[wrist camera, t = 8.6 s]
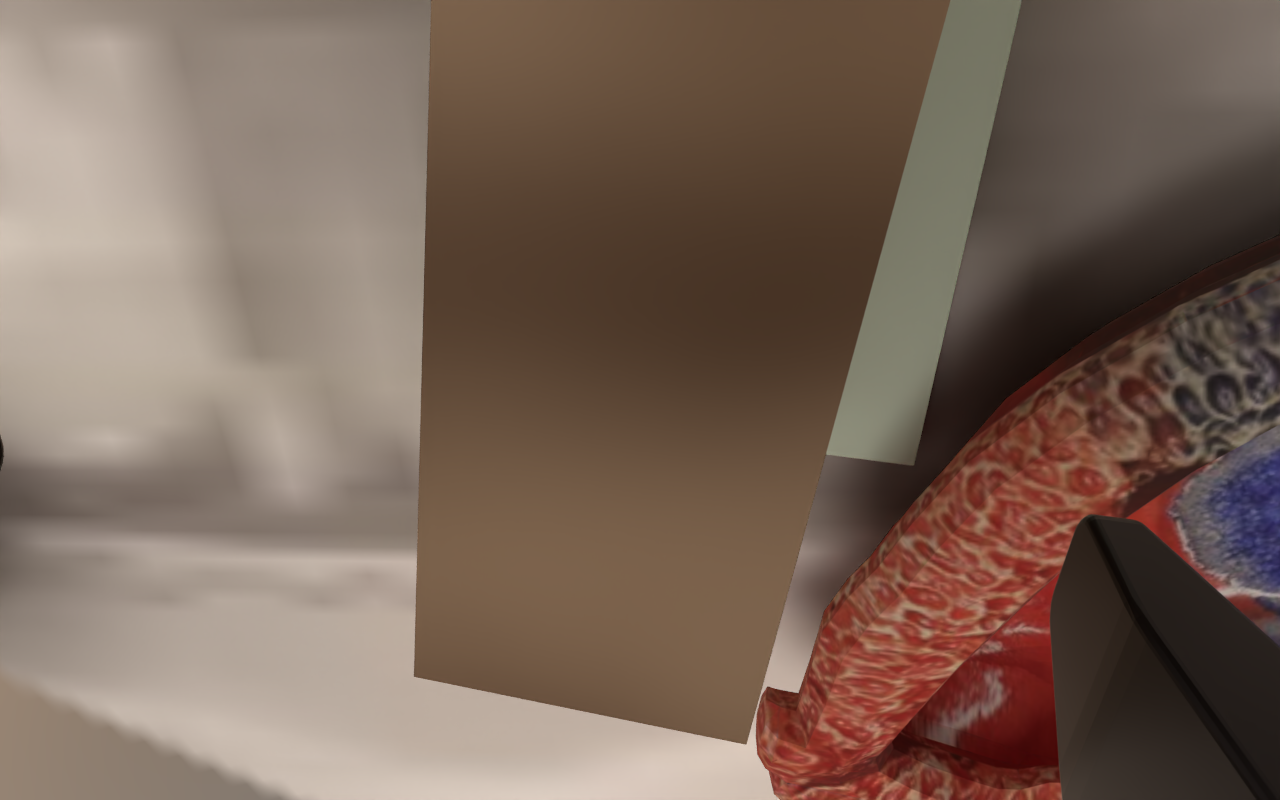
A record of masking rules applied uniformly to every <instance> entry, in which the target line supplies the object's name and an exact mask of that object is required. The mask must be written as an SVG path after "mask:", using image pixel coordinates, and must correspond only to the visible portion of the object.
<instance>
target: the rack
mask: <svg viewBox="0 0 1280 800" xmlns="http://www.w3.org/2000/svg"><path fill="white" fill-rule="evenodd" d="M1021 2H1022V0H950V4H949V8H948V11H947V15H946V19H945V22H944V26H943V29H942V33H941V37H940V40H939V44H938V48H937V51H936V55H935V59H934V62H933V66H932V70H931V73H930V77H929V80H928V84H927V88H926V91H925V95H924V99H923V102H922V106H921V110H920V113H919V117H918V121H917V124H916V128H915V131H914V135H913V139H912V142H911V146H910V150H909V153H908V157H907V161H906V164H905V168H904V172H903V175H902V179H901V182H900V186H899V190H898V193H897V197H896V201H895V204H894V208H893V212H892V215H891V219H890V223H889V226H888V230H887V233H886V237H885V241H884V244H883V248H882V252H881V255H880V259H879V263H878V266H877V270H876V274H875V277H874V281H873V285H872V288H871V292H870V295H869V299H868V303H867V306H866V310H865V314H864V317H863V321H862V325H861V328H860V332H859V336H858V339H857V343H856V346H855V350H854V354H853V357H852V361H851V365H850V368H849V372H848V376H847V379H846V383H845V387H844V390H843V394H842V397H841V401H840V405H839V408H838V412H837V416H836V419H835V423H834V427H833V430H832V434H831V438H830V441H829V445H828V448H827V452H826V455H833V456H841V457H849V458H857V459H865V460H872V461H880V462H888V463H896V464H904V465H911V466H914V463H915V459H916V454H917V450H918V446H919V441H920V437H921V433H922V428H923V424H924V420H925V416H926V411H927V407H928V403H929V398H930V394H931V390H932V385H933V381H934V377H935V372H936V368H937V364H938V360H939V355H940V351H941V347H942V342H943V338H944V334H945V329H946V325H947V321H948V316H949V312H950V308H951V304H952V299H953V295H954V291H955V286H956V282H957V278H958V273H959V269H960V265H961V260H962V256H963V252H964V248H965V243H966V239H967V235H968V230H969V226H970V222H971V217H972V213H973V209H974V205H975V200H976V196H977V192H978V187H979V183H980V179H981V174H982V170H983V166H984V161H985V157H986V153H987V149H988V144H989V140H990V136H991V131H992V127H993V123H994V118H995V114H996V110H997V105H998V101H999V97H1000V93H1001V88H1002V84H1003V80H1004V75H1005V71H1006V67H1007V62H1008V58H1009V54H1010V49H1011V45H1012V41H1013V37H1014V32H1015V28H1016V24H1017V19H1018V15H1019V11H1020V6H1021Z"/></svg>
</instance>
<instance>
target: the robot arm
mask: <svg viewBox="0 0 1280 800" xmlns="http://www.w3.org/2000/svg"><path fill="white" fill-rule="evenodd" d="M3 457H4V449H3V442H2V439H1V436H0V470H1V467H2V463H3ZM1050 636H1051V651H1052V666H1053V681H1054V697H1055V712H1056V727H1057V742H1058V757H1059V772H1060V783H1061V794H1062V800H1280V646H1279V645H1278V644H1276V643H1275V642H1274V641H1273V640H1272V639H1271V638H1270V637H1269V636H1268V635H1266V634H1265V633H1264V632H1263V631H1262V630H1261V629H1260V628H1259V627H1258V626H1257V625H1255V624H1254V623H1253V622H1252V621H1251V620H1250V619H1249V618H1248V617H1247V616H1245V615H1244V614H1243V613H1242V612H1241V611H1240V610H1239V609H1238V608H1237V607H1235V606H1234V605H1233V604H1232V603H1231V602H1230V601H1229V600H1228V599H1227V598H1225V597H1224V596H1223V595H1222V594H1221V593H1220V592H1219V591H1218V590H1217V589H1215V588H1214V587H1213V586H1212V585H1211V584H1210V583H1209V582H1208V581H1207V580H1206V579H1204V578H1203V577H1202V576H1201V575H1200V574H1199V573H1198V572H1197V571H1196V570H1194V569H1193V568H1192V567H1191V566H1190V565H1189V564H1188V563H1187V562H1186V561H1184V560H1183V559H1182V558H1181V557H1180V556H1179V555H1178V554H1177V553H1176V552H1174V551H1173V550H1172V549H1171V548H1170V547H1169V546H1168V545H1167V544H1166V543H1164V542H1163V541H1162V540H1161V539H1160V538H1159V537H1158V536H1157V535H1156V534H1155V533H1153V532H1152V531H1151V530H1150V529H1149V528H1148V527H1147V526H1145V525H1144V524H1143V523H1141V522H1139V521H1137V520H1133V519H1125V518H1118V517H1110V516H1102V515H1095V514H1090V515H1087V516H1085V517H1084V518H1082V519H1081V521H1080V522H1079V524H1078V525H1077V527H1076V529H1075V532H1074V534H1073V537H1072V540H1071V543H1070V546H1069V549H1068V552H1067V554H1066V557H1065V560H1064V563H1063V566H1062V569H1061V572H1060V575H1059V577H1058V580H1057V583H1056V586H1055V589H1054V592H1053V596H1052V601H1051V608H1050Z"/></svg>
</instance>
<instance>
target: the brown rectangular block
mask: <svg viewBox="0 0 1280 800" xmlns="http://www.w3.org/2000/svg"><path fill="white" fill-rule="evenodd" d="M949 4H950V0H431V33H430V72H429V111H428V150H427V190H426V229H425V268H424V308H423V347H422V386H421V425H420V465H419V504H418V543H417V583H416V622H415V661H414V677H418V678H423V679H428V680H433V681H438V682H443V683H448V684H453V685H458V686H462V687H467V688H472V689H477V690H482V691H487V692H492V693H497V694H502V695H506V696H511V697H516V698H521V699H526V700H531V701H536V702H541V703H546V704H550V705H555V706H560V707H565V708H570V709H575V710H580V711H585V712H590V713H594V714H599V715H604V716H609V717H614V718H619V719H624V720H629V721H634V722H638V723H643V724H648V725H653V726H658V727H663V728H668V729H673V730H678V731H683V732H687V733H692V734H697V735H702V736H707V737H712V738H717V739H722V740H727V741H731V742H736V743H741V744H747V740H748V736H749V733H750V729H751V725H752V722H753V718H754V714H755V711H756V707H757V704H758V700H759V696H760V693H761V689H762V685H763V682H764V678H765V674H766V671H767V667H768V663H769V660H770V656H771V653H772V649H773V645H774V642H775V638H776V634H777V631H778V627H779V623H780V620H781V616H782V612H783V609H784V605H785V602H786V598H787V594H788V591H789V587H790V583H791V580H792V576H793V572H794V569H795V565H796V561H797V558H798V554H799V550H800V547H801V543H802V540H803V536H804V532H805V529H806V525H807V521H808V518H809V514H810V510H811V507H812V503H813V499H814V496H815V492H816V489H817V485H818V481H819V478H820V474H821V470H822V467H823V463H824V459H825V456H826V452H827V448H828V445H829V441H830V438H831V434H832V430H833V427H834V423H835V419H836V416H837V412H838V408H839V405H840V401H841V397H842V394H843V390H844V387H845V383H846V379H847V376H848V372H849V368H850V365H851V361H852V357H853V354H854V350H855V346H856V343H857V339H858V336H859V332H860V328H861V325H862V321H863V317H864V314H865V310H866V306H867V303H868V299H869V295H870V292H871V288H872V285H873V281H874V277H875V274H876V270H877V266H878V263H879V259H880V255H881V252H882V248H883V244H884V241H885V237H886V233H887V230H888V226H889V223H890V219H891V215H892V212H893V208H894V204H895V201H896V197H897V193H898V190H899V186H900V182H901V179H902V175H903V172H904V168H905V164H906V161H907V157H908V153H909V150H910V146H911V142H912V139H913V135H914V131H915V128H916V124H917V121H918V117H919V113H920V110H921V106H922V102H923V99H924V95H925V91H926V88H927V84H928V80H929V77H930V73H931V70H932V66H933V62H934V59H935V55H936V51H937V48H938V44H939V40H940V37H941V33H942V29H943V26H944V22H945V19H946V15H947V11H948V8H949Z"/></svg>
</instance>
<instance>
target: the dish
mask: <svg viewBox="0 0 1280 800" xmlns="http://www.w3.org/2000/svg"><path fill="white" fill-rule="evenodd" d="M1090 514H1095V515H1102V516H1110V517H1118V518H1125V519H1133V520H1137V521H1139V522H1141V523H1143V524H1144V525H1145V526H1147V527H1148V528H1149V529H1150V530H1151V531H1152V532H1153V533H1155V534H1156V535H1157V536H1158V537H1159V538H1160V539H1161V540H1162V541H1163V542H1164V543H1166V544H1167V545H1168V546H1169V547H1170V548H1171V549H1172V550H1173V551H1174V552H1176V553H1177V554H1178V555H1179V556H1180V557H1181V558H1182V559H1183V560H1184V561H1186V562H1187V563H1188V564H1189V565H1190V566H1191V567H1192V568H1193V569H1194V570H1196V571H1197V572H1198V573H1199V574H1200V575H1201V576H1202V577H1203V578H1204V579H1206V580H1207V581H1208V582H1209V583H1210V584H1211V585H1212V586H1213V587H1214V588H1215V589H1217V590H1218V591H1219V592H1220V593H1221V594H1222V595H1223V596H1224V597H1225V598H1227V599H1228V600H1229V601H1230V602H1231V603H1232V604H1233V605H1234V606H1235V607H1237V608H1238V609H1239V610H1240V611H1241V612H1242V613H1243V614H1244V615H1245V616H1247V617H1248V618H1249V619H1250V620H1251V621H1252V622H1253V623H1254V624H1255V625H1257V626H1258V627H1259V628H1260V629H1261V630H1262V631H1263V632H1264V633H1265V634H1266V635H1268V636H1269V637H1270V638H1271V639H1272V640H1273V641H1274V642H1275V643H1276V644H1278V645H1279V646H1280V235H1278V236H1276V237H1274V238H1271V239H1269V240H1267V241H1265V242H1262V243H1260V244H1258V245H1256V246H1253V247H1251V248H1249V249H1247V250H1245V251H1242V252H1240V253H1238V254H1236V255H1233V256H1231V257H1229V258H1227V259H1224V260H1222V261H1220V262H1218V263H1215V264H1213V265H1211V266H1209V267H1207V268H1205V269H1204V270H1202V271H1200V272H1198V273H1197V274H1195V275H1193V276H1191V277H1189V278H1188V279H1186V280H1184V281H1182V282H1181V283H1179V284H1177V285H1175V286H1174V287H1172V288H1170V289H1168V290H1166V291H1165V292H1163V293H1161V294H1159V295H1158V296H1156V297H1154V298H1152V299H1150V300H1149V301H1147V302H1145V303H1143V304H1142V305H1140V306H1138V307H1136V308H1135V309H1133V310H1131V311H1129V312H1127V313H1126V314H1124V315H1122V316H1120V317H1119V318H1117V319H1115V320H1113V321H1111V322H1110V323H1108V324H1107V325H1105V326H1104V327H1102V328H1101V329H1099V330H1098V331H1096V332H1094V333H1093V334H1091V335H1090V336H1088V337H1087V338H1085V339H1084V340H1083V341H1082V342H1080V343H1079V344H1078V345H1076V346H1075V347H1074V348H1072V349H1071V350H1070V351H1068V352H1067V353H1066V354H1064V355H1063V356H1062V357H1060V358H1059V359H1058V360H1056V361H1055V362H1054V363H1052V364H1051V365H1050V366H1048V367H1047V368H1046V369H1045V370H1043V371H1042V372H1041V373H1039V374H1038V375H1037V376H1035V377H1034V378H1033V379H1031V380H1030V381H1029V382H1027V383H1026V384H1025V385H1023V386H1022V387H1021V388H1019V389H1018V390H1017V391H1015V392H1014V393H1013V394H1011V395H1010V396H1009V397H1008V398H1006V399H1005V400H1004V401H1003V403H1002V404H1001V405H1000V406H999V407H998V408H997V409H996V410H995V412H994V413H993V414H992V415H991V416H990V417H989V418H988V419H987V421H986V422H985V423H984V424H983V425H982V426H981V427H980V428H979V430H978V431H977V432H976V433H975V434H974V435H973V436H972V438H971V439H970V440H969V441H968V442H967V443H966V444H965V445H964V447H963V448H962V449H961V450H960V451H959V452H958V453H957V454H956V456H955V457H954V458H953V460H952V461H951V462H950V463H949V464H948V465H947V466H946V467H945V468H944V470H943V471H942V472H941V473H940V474H939V475H938V476H937V477H936V478H935V480H934V481H933V482H932V483H931V484H930V485H929V486H928V487H927V488H926V489H925V491H924V492H923V493H922V494H921V495H920V496H919V497H918V498H917V499H916V500H915V502H914V503H913V504H912V505H911V506H910V508H909V509H908V510H907V511H906V513H905V514H904V515H903V517H902V518H901V519H900V520H899V521H897V522H896V523H895V524H894V526H893V527H892V528H891V530H890V531H889V532H888V533H887V535H886V536H885V537H884V539H883V540H882V541H881V543H880V544H879V545H878V547H877V548H876V549H875V551H874V552H873V553H872V555H871V556H870V557H869V558H868V559H867V560H866V561H865V562H864V563H863V564H862V565H861V566H860V567H859V568H858V569H857V570H856V571H855V572H854V573H853V574H852V575H851V576H850V577H849V578H848V579H847V581H846V582H845V583H844V585H843V586H842V587H841V589H840V590H839V591H838V593H837V594H836V596H835V597H834V598H833V600H832V601H831V602H830V604H829V605H828V607H827V608H826V609H825V611H824V614H823V617H822V620H821V624H820V627H819V631H818V634H817V638H816V641H815V644H814V648H813V651H812V655H811V658H810V661H809V664H808V667H807V670H806V673H805V676H804V679H803V682H802V685H801V688H800V691H799V693H793V692H788V691H783V690H778V689H774V688H771V687H767V688H766V690H765V691H764V693H763V695H762V697H761V701H760V704H759V708H758V712H757V722H756V743H757V754H758V756H759V758H760V759H761V761H762V763H763V765H764V767H765V768H766V769H767V770H769V774H770V778H771V783H772V787H773V791H774V794H775V795H776V796H777V797H778V798H779V799H780V800H1062V794H1061V783H1060V772H1059V757H1058V742H1057V727H1056V712H1055V697H1054V681H1053V666H1052V651H1051V636H1050V608H1051V601H1052V596H1053V592H1054V589H1055V586H1056V583H1057V580H1058V577H1059V575H1060V572H1061V569H1062V566H1063V563H1064V560H1065V557H1066V554H1067V552H1068V549H1069V546H1070V543H1071V540H1072V537H1073V534H1074V532H1075V529H1076V527H1077V525H1078V524H1079V522H1080V521H1081V519H1082V518H1084V517H1085V516H1087V515H1090Z"/></svg>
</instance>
